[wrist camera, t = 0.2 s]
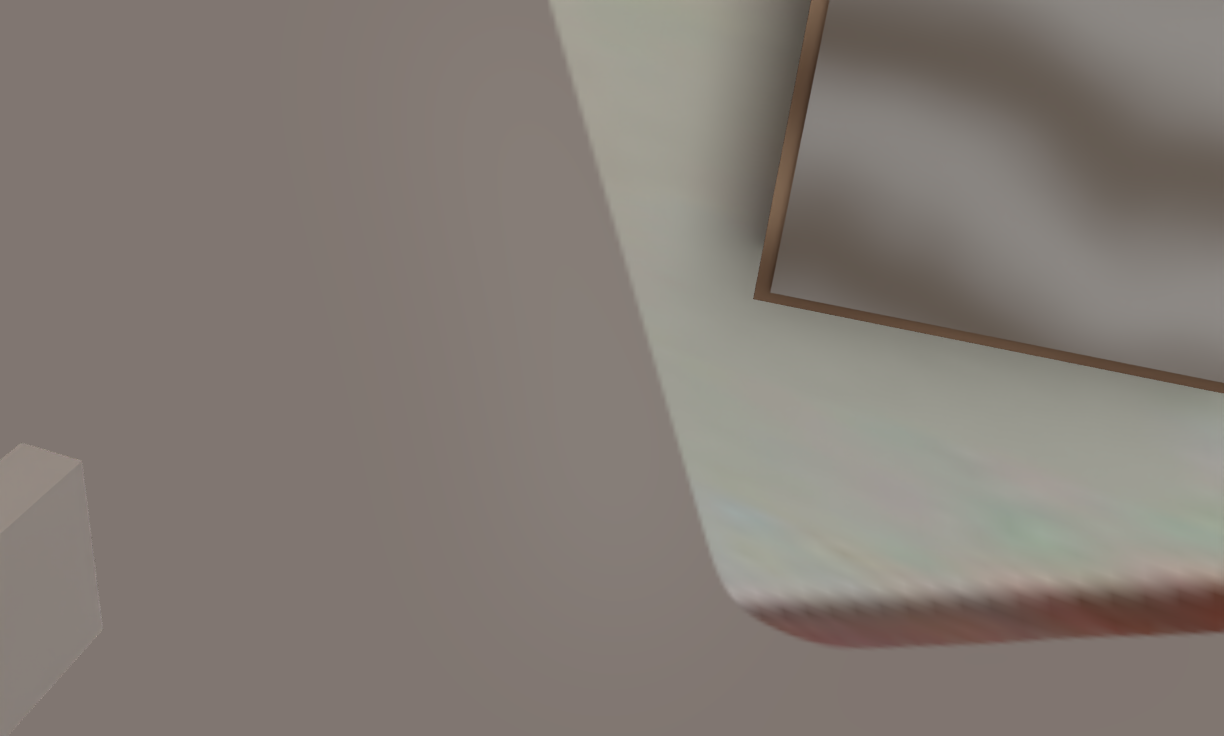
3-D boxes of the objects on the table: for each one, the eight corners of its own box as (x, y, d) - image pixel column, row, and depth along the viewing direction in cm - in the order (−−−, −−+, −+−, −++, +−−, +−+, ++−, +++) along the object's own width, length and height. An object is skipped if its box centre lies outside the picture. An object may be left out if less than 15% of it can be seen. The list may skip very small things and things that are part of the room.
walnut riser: (861, -232, 31) (854, -225, 27) (1518, -148, 28) (1606, -129, 25) (766, 248, 39) (752, 302, 35) (1273, 346, 36) (1313, 416, 33)
